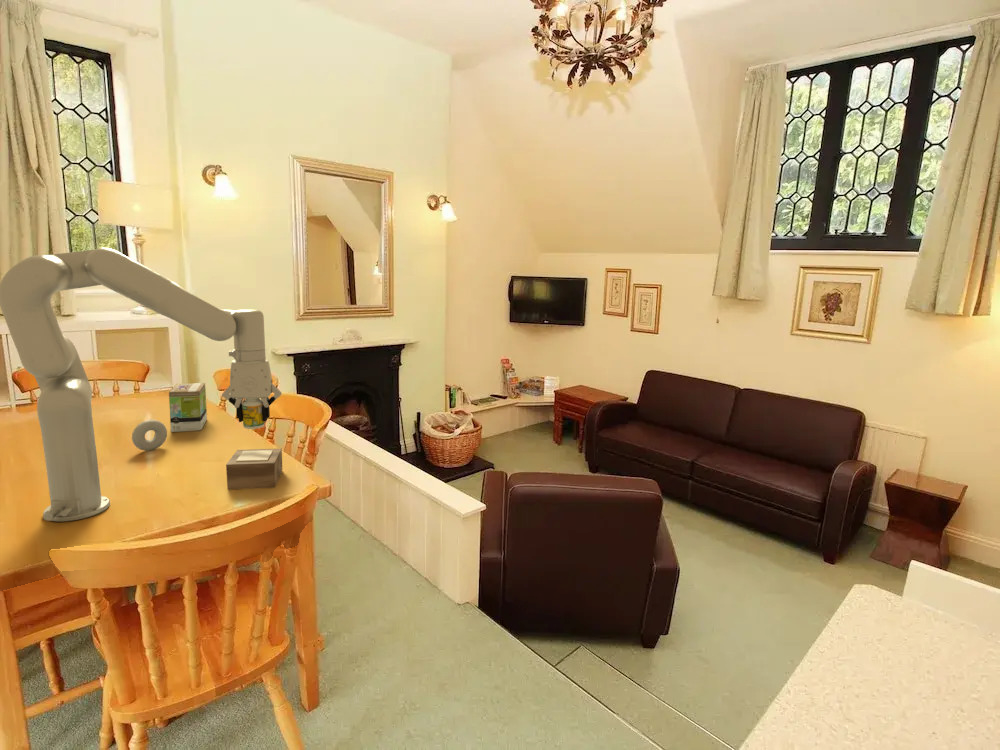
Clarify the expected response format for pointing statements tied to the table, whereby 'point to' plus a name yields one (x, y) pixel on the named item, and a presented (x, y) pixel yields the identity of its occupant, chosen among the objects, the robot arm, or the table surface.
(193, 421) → the tea box
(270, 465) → the walnut block
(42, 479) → the table surface
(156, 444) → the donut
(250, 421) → the supplement bottle
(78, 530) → the table surface
